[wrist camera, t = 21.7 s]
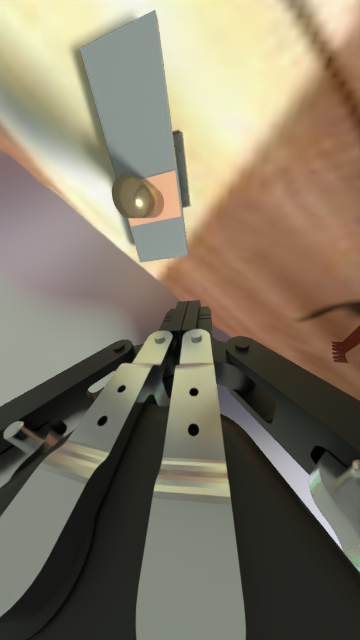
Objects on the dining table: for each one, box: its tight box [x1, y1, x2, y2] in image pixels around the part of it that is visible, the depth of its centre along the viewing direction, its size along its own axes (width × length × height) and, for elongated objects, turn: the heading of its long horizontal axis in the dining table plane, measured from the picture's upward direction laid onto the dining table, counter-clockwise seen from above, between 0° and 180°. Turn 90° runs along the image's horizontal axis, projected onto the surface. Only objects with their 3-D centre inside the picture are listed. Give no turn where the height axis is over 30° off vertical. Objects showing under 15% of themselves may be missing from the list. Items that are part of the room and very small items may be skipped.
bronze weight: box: [112, 174, 164, 218], centre depth 24 cm, size 4×4×9 cm
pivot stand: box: [173, 132, 191, 208], centre depth 29 cm, size 10×12×5 cm
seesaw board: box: [80, 10, 188, 262], centre depth 26 cm, size 26×10×1 cm, turn 10°
